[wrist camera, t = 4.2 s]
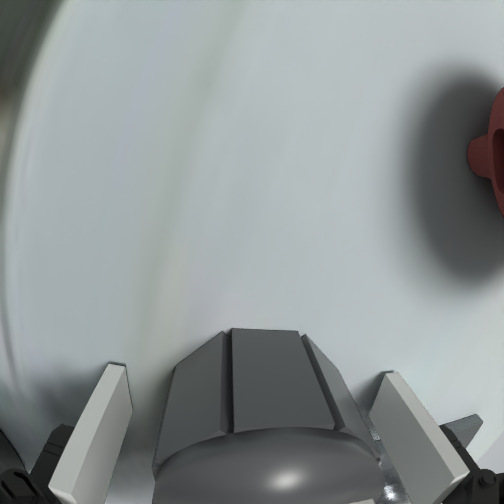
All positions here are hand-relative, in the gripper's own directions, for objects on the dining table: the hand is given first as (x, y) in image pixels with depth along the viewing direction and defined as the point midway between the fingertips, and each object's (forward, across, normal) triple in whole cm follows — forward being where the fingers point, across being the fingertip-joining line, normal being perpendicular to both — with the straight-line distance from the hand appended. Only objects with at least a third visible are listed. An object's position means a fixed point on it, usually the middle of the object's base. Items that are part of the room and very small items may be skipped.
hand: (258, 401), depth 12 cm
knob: (0, 0, 0) cm, 0 cm away
